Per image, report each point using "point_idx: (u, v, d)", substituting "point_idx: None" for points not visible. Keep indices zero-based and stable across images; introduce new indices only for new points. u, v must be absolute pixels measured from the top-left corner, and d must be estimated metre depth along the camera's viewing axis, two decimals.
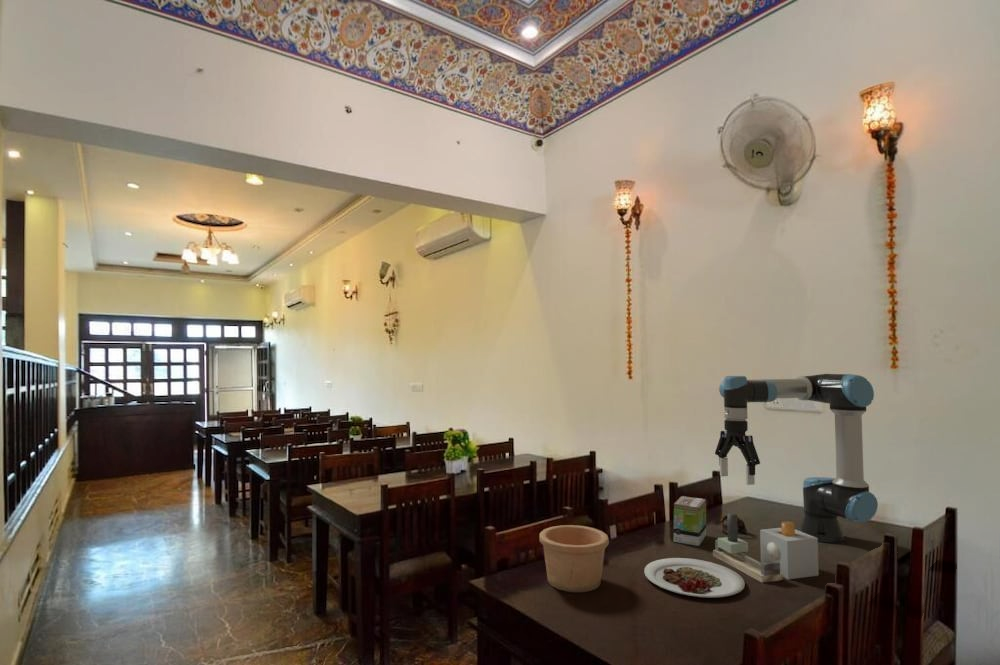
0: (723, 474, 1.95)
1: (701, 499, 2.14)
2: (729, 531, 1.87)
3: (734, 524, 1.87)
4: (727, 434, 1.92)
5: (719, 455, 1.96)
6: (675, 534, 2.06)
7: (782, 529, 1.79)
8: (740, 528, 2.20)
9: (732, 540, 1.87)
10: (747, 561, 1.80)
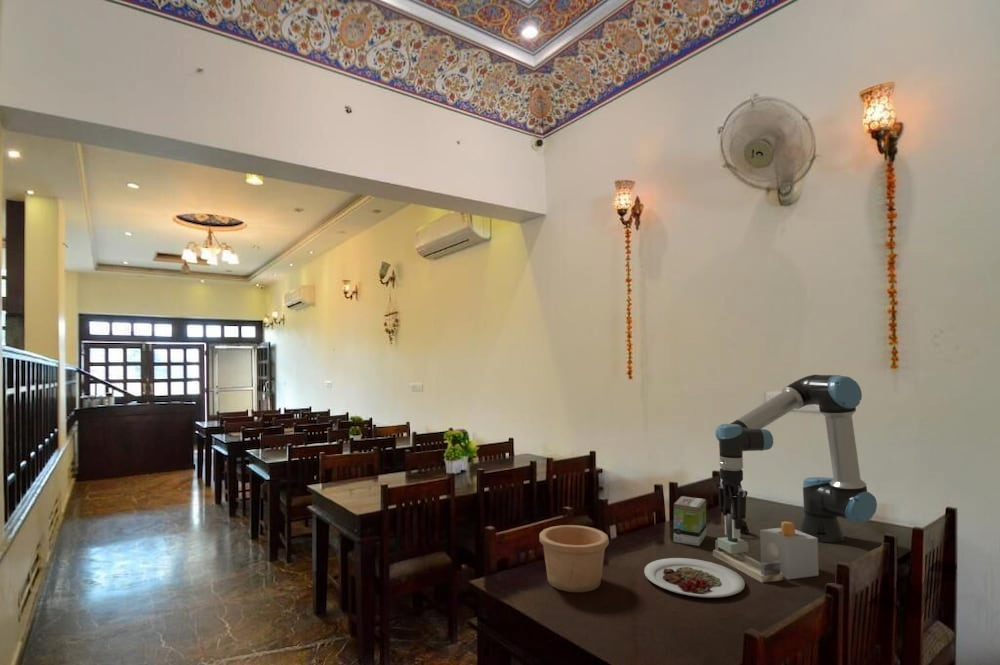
0: None
1: (701, 499, 2.14)
2: (729, 531, 1.87)
3: None
4: (722, 483, 1.92)
5: (723, 512, 1.91)
6: (675, 534, 2.06)
7: (782, 529, 1.79)
8: (742, 528, 2.20)
9: (732, 540, 1.87)
10: (747, 561, 1.80)
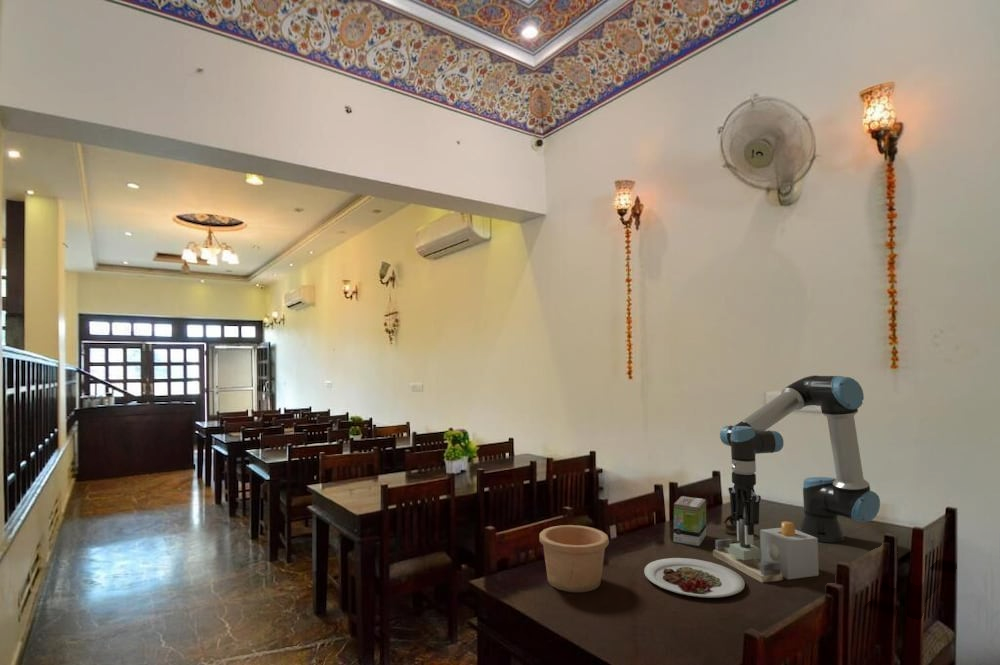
0: None
1: (701, 499, 2.14)
2: (742, 537, 1.81)
3: None
4: (735, 487, 1.86)
5: (736, 517, 1.85)
6: (675, 534, 2.06)
7: (782, 529, 1.79)
8: None
9: (745, 546, 1.81)
10: (747, 561, 1.80)
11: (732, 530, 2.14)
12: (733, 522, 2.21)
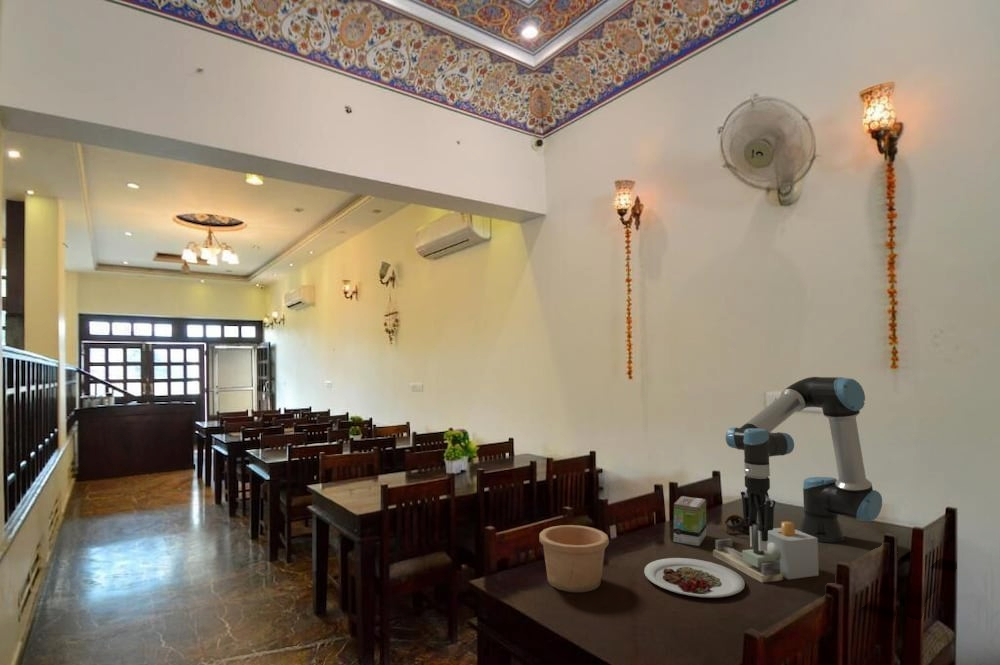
0: None
1: (701, 499, 2.14)
2: (755, 543, 1.75)
3: None
4: (747, 491, 1.80)
5: (748, 523, 1.79)
6: (675, 534, 2.06)
7: (782, 529, 1.79)
8: (744, 528, 2.19)
9: (758, 553, 1.74)
10: None
11: (733, 530, 2.13)
12: (734, 522, 2.21)
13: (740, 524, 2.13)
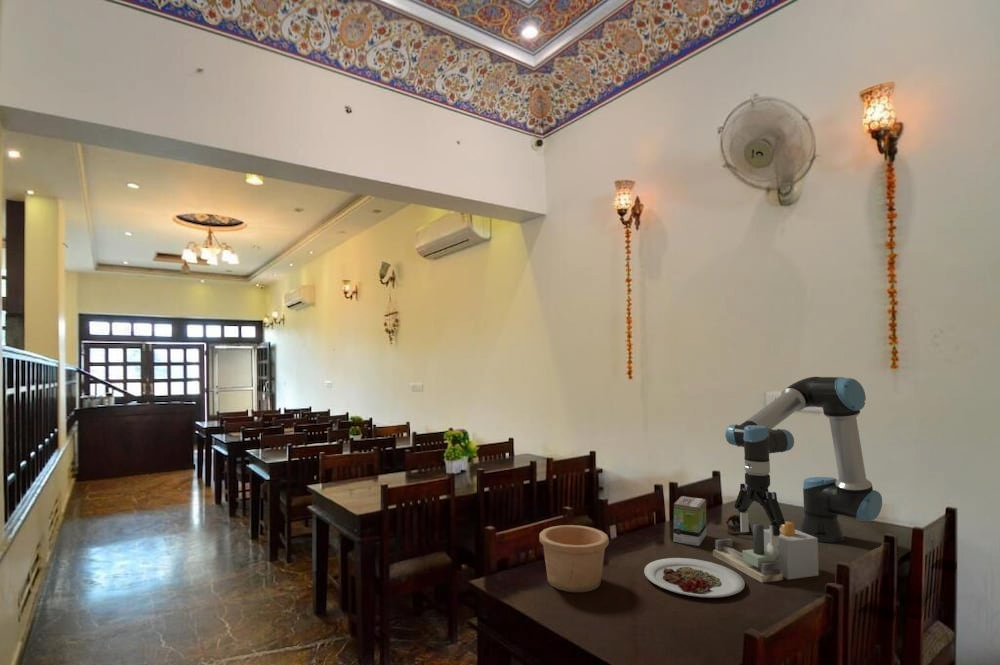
0: (744, 530, 1.82)
1: (701, 499, 2.14)
2: (755, 543, 1.75)
3: (761, 536, 1.75)
4: (748, 488, 1.80)
5: (739, 509, 1.83)
6: (675, 534, 2.06)
7: (782, 529, 1.79)
8: None
9: (758, 553, 1.74)
10: None
11: (734, 530, 2.13)
12: (735, 522, 2.21)
13: None
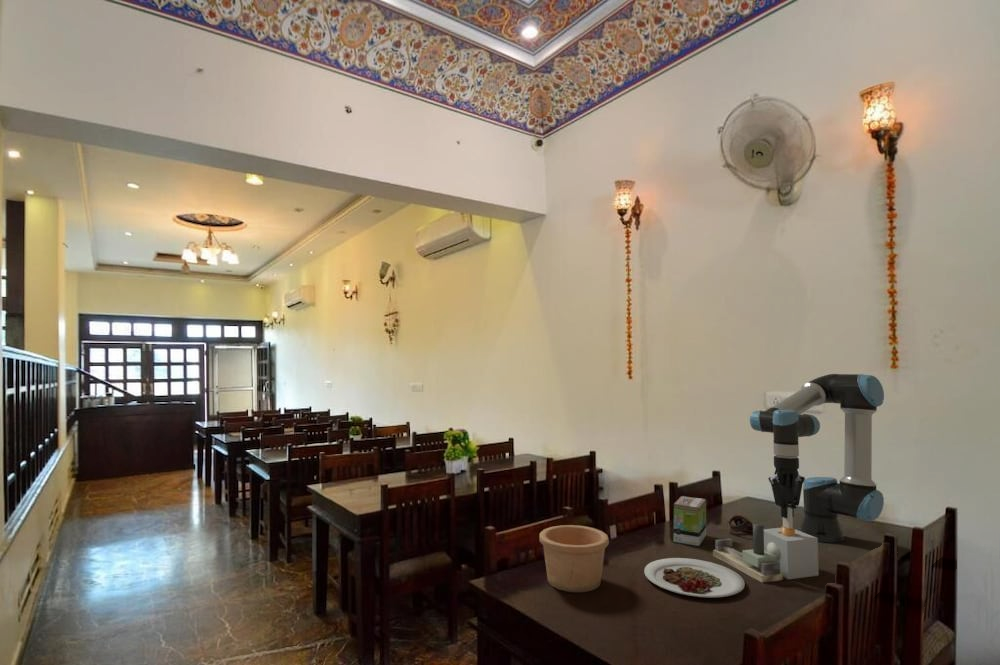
0: None
1: (701, 499, 2.14)
2: (755, 543, 1.75)
3: (761, 536, 1.75)
4: None
5: None
6: (675, 534, 2.06)
7: (782, 534, 1.79)
8: (747, 529, 2.19)
9: (758, 553, 1.74)
10: None
11: (737, 531, 2.13)
12: (737, 522, 2.20)
13: (744, 524, 2.12)
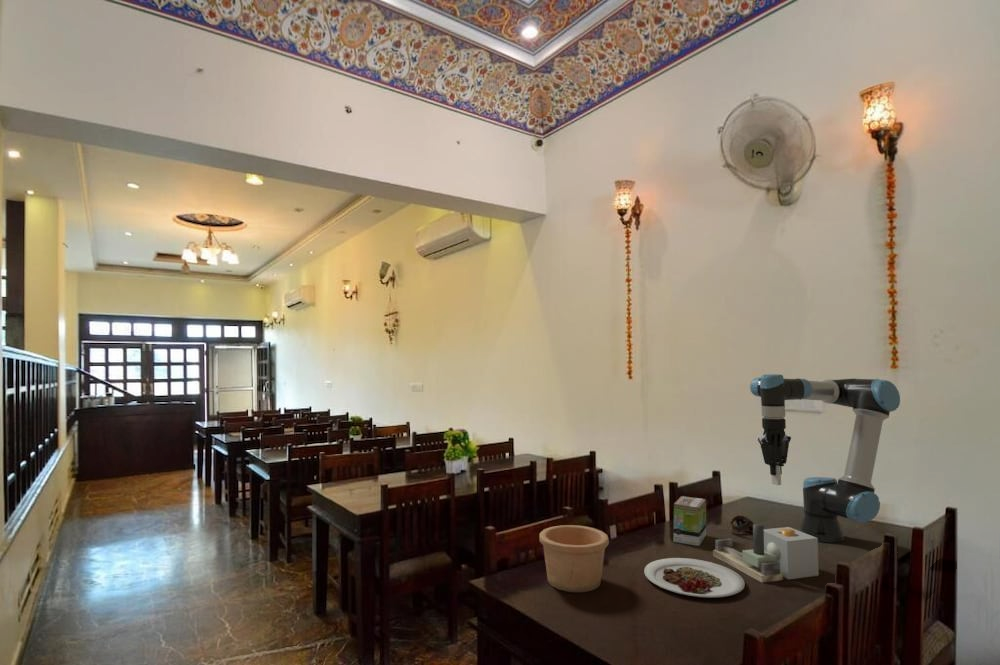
0: None
1: (701, 499, 2.14)
2: (755, 543, 1.75)
3: (761, 536, 1.75)
4: None
5: None
6: (675, 534, 2.06)
7: None
8: (749, 529, 2.18)
9: (758, 553, 1.74)
10: None
11: (739, 531, 2.13)
12: (739, 523, 2.20)
13: (746, 525, 2.12)
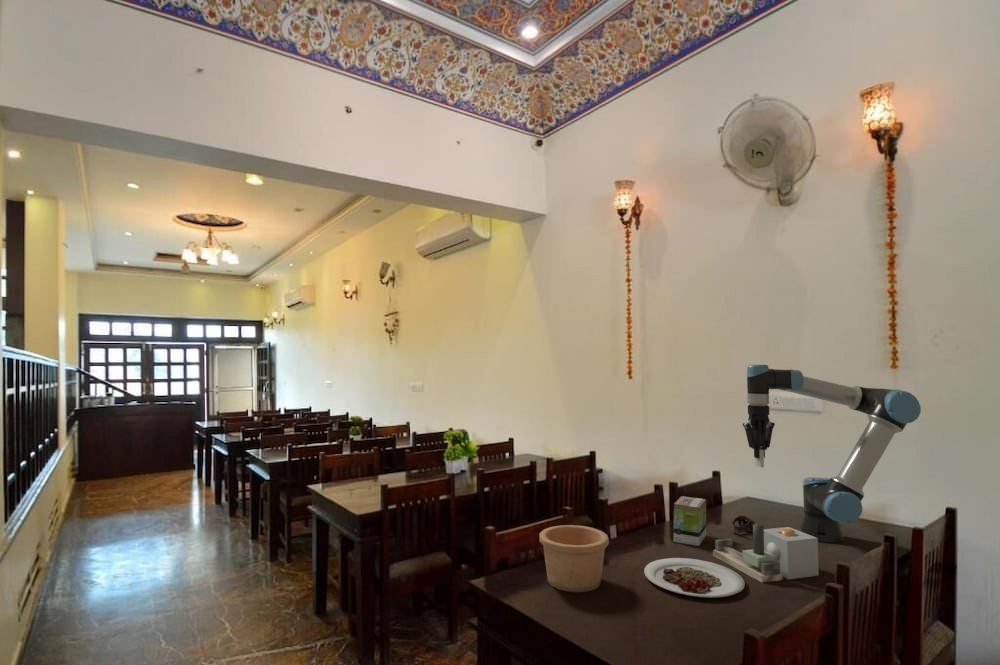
0: None
1: (701, 499, 2.14)
2: (755, 543, 1.75)
3: (761, 536, 1.75)
4: None
5: None
6: (675, 534, 2.06)
7: None
8: (751, 529, 2.18)
9: (758, 553, 1.74)
10: None
11: (741, 531, 2.12)
12: (741, 523, 2.20)
13: (748, 525, 2.12)
